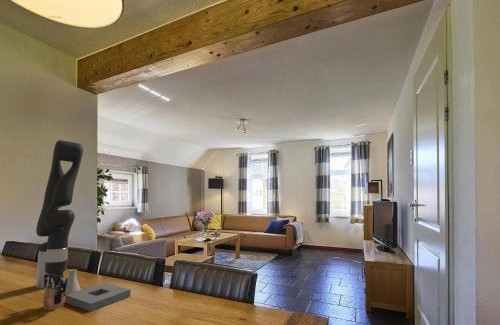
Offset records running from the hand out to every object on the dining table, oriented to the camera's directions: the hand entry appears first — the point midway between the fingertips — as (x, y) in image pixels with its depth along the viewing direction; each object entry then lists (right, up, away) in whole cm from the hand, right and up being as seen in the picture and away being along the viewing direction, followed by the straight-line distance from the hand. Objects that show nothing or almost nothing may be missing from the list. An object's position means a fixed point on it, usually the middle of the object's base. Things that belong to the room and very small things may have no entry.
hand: (53, 302), depth 113 cm
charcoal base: (+14, -3, +8) cm, 16 cm away
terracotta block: (0, -2, 0) cm, 2 cm away
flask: (-3, -4, +16) cm, 17 cm away
